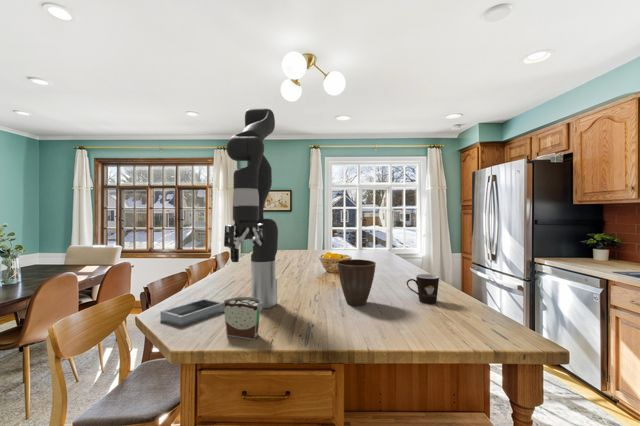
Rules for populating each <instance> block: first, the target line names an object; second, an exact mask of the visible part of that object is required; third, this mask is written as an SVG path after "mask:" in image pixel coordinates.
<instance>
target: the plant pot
mask: <svg viewBox="0 0 640 426" xmlns="http://www.w3.org/2000/svg"><path fill="white" fill-rule="evenodd" d="M336 262H337V270H338V271H337V272H338V276H339V277H338V278H339V282H340V286H341V289H342V293H343V296H344V299H345V301H346V304H347V305H349V306H353V307H354V306H355V307H362V306H365V305H366V304H367V303H368V302H367V301H368V299H369V296H370V293H371V289H372V286H373V282H374V278H375V272H376V271H375V270H376V264H377V262H376V261H373V260H368V259H358V258H357V259H352V258H351V259H341V260H338V261H336Z"/></svg>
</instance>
